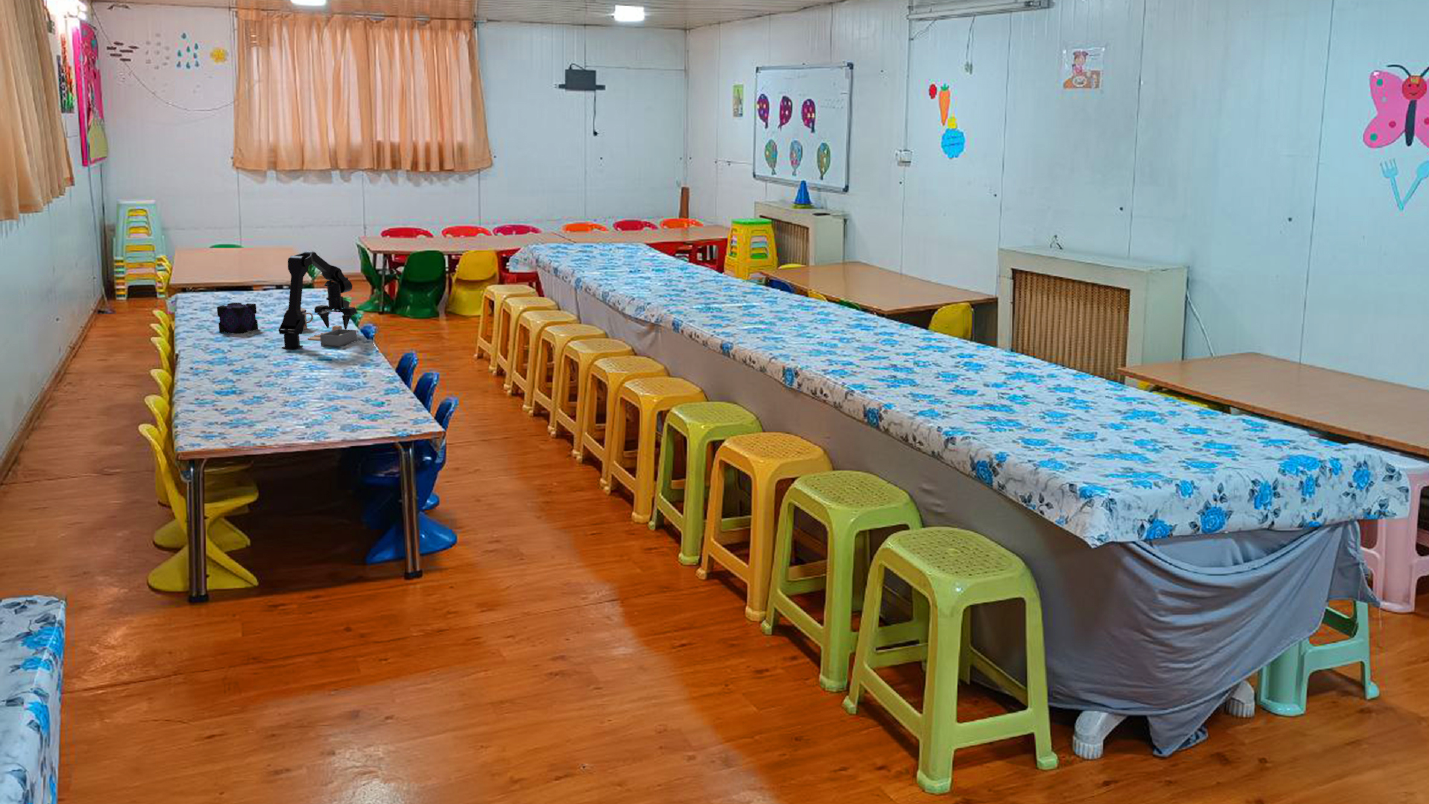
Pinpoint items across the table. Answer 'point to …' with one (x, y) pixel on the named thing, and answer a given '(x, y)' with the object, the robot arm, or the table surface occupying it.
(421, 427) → the table surface
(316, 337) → the lid
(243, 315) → the energy cube
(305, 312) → the teacup with lid
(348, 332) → the tub
